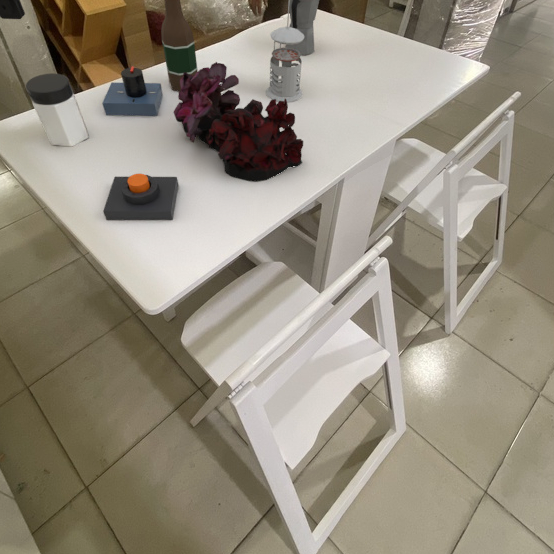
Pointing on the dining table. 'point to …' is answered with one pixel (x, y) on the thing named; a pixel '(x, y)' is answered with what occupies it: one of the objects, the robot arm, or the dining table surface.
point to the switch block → (142, 200)
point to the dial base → (132, 101)
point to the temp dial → (133, 82)
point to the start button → (138, 183)
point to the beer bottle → (177, 44)
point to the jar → (57, 109)
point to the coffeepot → (303, 23)
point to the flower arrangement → (237, 126)
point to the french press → (285, 65)
